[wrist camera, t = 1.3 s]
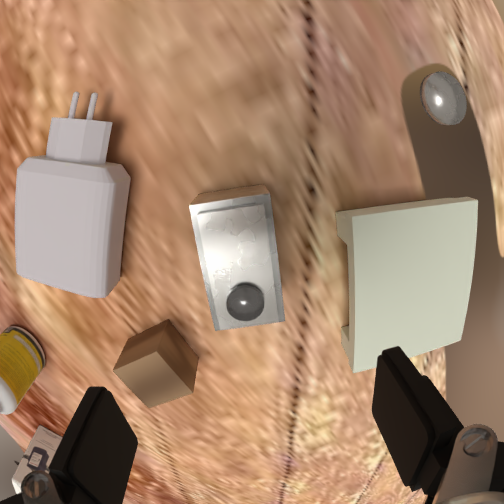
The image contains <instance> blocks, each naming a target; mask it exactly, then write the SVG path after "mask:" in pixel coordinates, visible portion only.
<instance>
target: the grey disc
mask: <svg viewBox="0 0 504 504" xmlns="http://www.w3.org/2000/svg"><path fill="white" fill-rule="evenodd" d="M420 99H421V103H422V106H423V108H424V110H425V112H426V113H427V115H428V116H429V117H430V118H431V119H432V120H433V121H435V122H437V123H438V124H441V125H455V124H458V123H459V122H460V121H461V120H462V119H463V118H464V116H465V113H466V107H467V103H466V97H465V93H464V91H463V89H462V87H461V85H460V84H459V82H458V81H457V80H456V79H455V78H454V77H453V76H451V75H450V74H448V73H445V72H436V73H432V74H429V75H427V76H426V77H425V78H424V79H423V81H422V83H421V86H420Z"/></svg>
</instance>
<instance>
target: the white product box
mask: <svg viewBox="0 0 504 504" xmlns="http://www.w3.org/2000/svg"><path fill="white" fill-rule="evenodd" d="M62 438H63V437H61V436H59V435H57V434H55V433H53V432H52V431H50V430H48V429H46V428H44V427H43V426H41V425H39V427H38V429H37V430H36V432H35V434H34V436H33V438H32V440H31V442H30V444H29V446H28V448H27V450H26V452H25V454H24V456H23V458H22V459H21V462H20V464H19V466H18V468H17V470H16V472H15V474H14V476H13V478H12V483H13V486H14V488H15V490H16V493H17V494H18V493H20V492H21V483H22V481H23V479H24V477H25V476H26V475H27V474H29V473H30V472H32V471H36V470H42V471H45V472H47V473H48V474H49V471H50V470H49V468H48V467H49V465H50V463H51V461H52V459H53V456H54V454H55V452H56V450H57V448H58V446H59V444H60V442H61V440H62Z"/></svg>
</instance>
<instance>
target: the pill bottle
mask: <svg viewBox="0 0 504 504" xmlns="http://www.w3.org/2000/svg"><path fill="white" fill-rule="evenodd" d="M44 365H45V356H44V353H43V350H42V348H41V346H40V345H39V343H38V342H37V340H36V339H35V338H34V337H33V336H32V335H31V334H30V333H29V332H27V331H26V330H24V329H23V328H20V327H16V326H11V327H8V328H7V329H6V330H5V331H4V332H3V333H2V334H1V335H0V413H1V414H11V413H12V412H14V411H15V409H16V408H17V406H18V405H19V403H20V401H21V400H22V398H23V397H24V395H25V394H26V392H27V391H28V389H29V388H30V386H31V385H32V384H33V382H34V381H35V379H36V378H37V376H38V375H39V374H40V372H41V371H42V369H43V368H44Z"/></svg>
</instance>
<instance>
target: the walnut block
mask: <svg viewBox="0 0 504 504" xmlns="http://www.w3.org/2000/svg"><path fill="white" fill-rule="evenodd" d="M198 359H199V358H198V357H197V355H196V354H195V353H194V352H193V350H192V349H191V348H190V347H189V345H188V344H187V343H186V342H185V340H184V339H183V338H182V336H181V335H180V334H179V333H178V331H177V330H176V329H175V327H174V326H173V325H172V323H171V322H170V321H169V319H167V320H166V321H164V322H162V323H160V324H158V325H156V326H154V327H152V328H150V329H148V330H146V331H144V332H142V333H139V334H137V335H135V336H133V337H131V338H129V339H128V341H127V343H126V345H125V347H124V349H123V351H122V353H121V355H120V357H119V359H118V361H117V363H116V365H115V367H114V369H113V372H114V373H115V374H116V375H117V376H118V377H119V378H120V379H121V380H122V381H123V382H124V384H125V385H126V386H127V387H128V388H129V389H130V390H131V391H132V392H133V393H134V394H135V395H136V396H137V397H138V398H139V399H140V400H141V401H142V402H143V403H144V404H145V405H146V406H147V407H148V408H151V407H154V406H157V405H160V404H163V403H166V402H169V401H172V400H175V399H178V398H180V397H183V396H186V395H189V394H191V393H193V391H194V384H195V378H196V371H197V365H198Z"/></svg>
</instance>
